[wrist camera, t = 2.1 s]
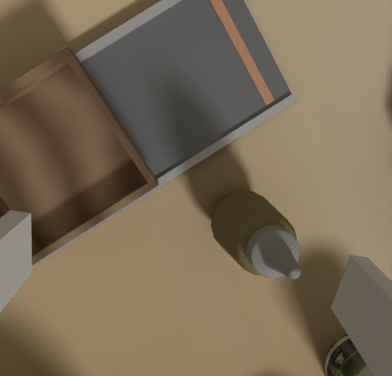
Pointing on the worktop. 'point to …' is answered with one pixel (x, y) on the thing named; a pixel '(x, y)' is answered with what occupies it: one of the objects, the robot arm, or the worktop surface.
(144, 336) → the worktop surface
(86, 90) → the cart
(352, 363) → the coffee can
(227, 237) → the squeeze bottle
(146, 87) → the track
